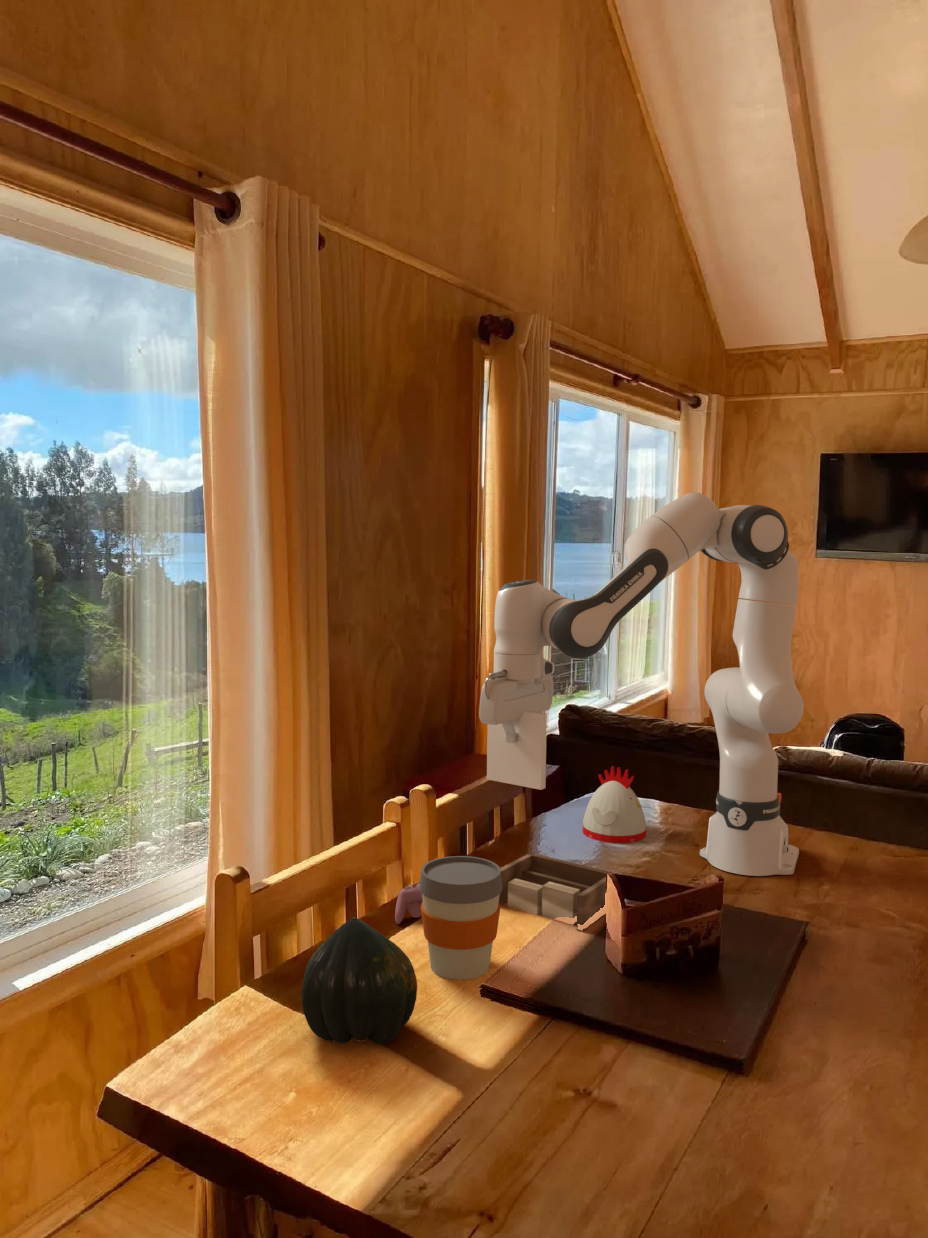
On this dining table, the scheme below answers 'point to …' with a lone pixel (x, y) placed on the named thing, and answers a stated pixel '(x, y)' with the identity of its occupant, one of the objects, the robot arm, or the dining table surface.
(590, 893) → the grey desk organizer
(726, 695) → the robot arm
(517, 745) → the white panel
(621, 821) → the kitchen timer
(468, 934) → the reusable coffee cup
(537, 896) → the birch offcut
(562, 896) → the birch offcut
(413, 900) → the video game controller
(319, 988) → the squash
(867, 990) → the dining table surface
